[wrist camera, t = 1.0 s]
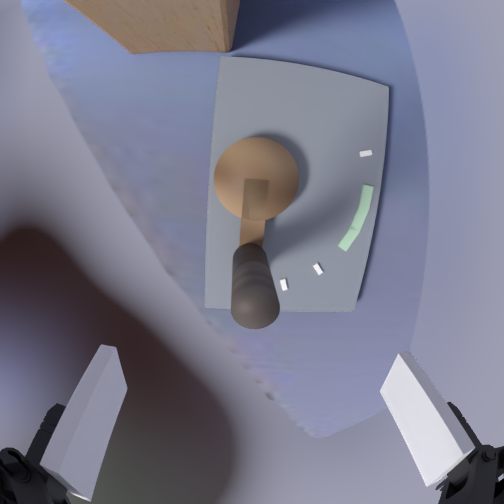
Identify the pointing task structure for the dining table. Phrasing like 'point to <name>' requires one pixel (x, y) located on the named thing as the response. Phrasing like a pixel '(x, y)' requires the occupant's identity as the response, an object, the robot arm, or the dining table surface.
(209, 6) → the wooden block
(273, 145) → the dial
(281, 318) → the dining table surface
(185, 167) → the dining table surface
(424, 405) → the robot arm
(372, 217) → the board
